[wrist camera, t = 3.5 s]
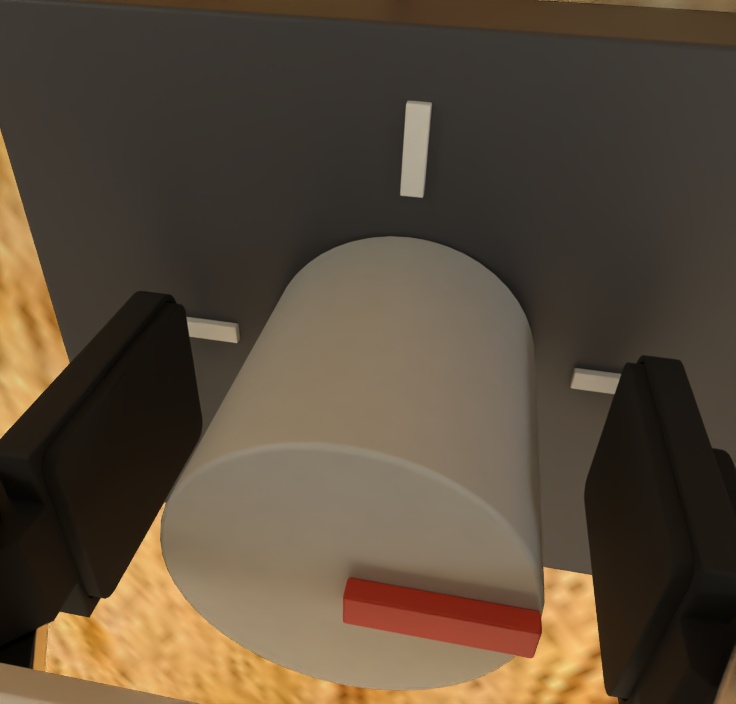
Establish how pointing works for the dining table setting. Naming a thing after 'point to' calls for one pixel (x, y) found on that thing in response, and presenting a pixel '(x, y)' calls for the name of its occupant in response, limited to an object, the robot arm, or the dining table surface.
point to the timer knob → (373, 477)
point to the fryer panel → (394, 178)
